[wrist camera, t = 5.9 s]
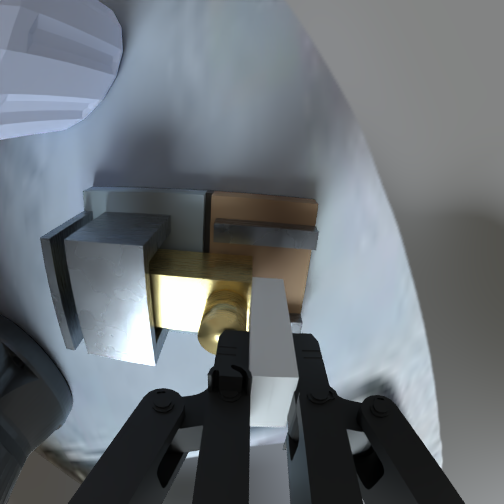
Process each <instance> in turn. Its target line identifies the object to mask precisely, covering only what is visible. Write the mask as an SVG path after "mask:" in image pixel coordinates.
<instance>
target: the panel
mask: <svg viewBox="0 0 504 504" xmlns="http://www.w3.org/2000/svg"><path fill="white" fill-rule="evenodd" d="M83 199H84V211H93V220H94V219H95V218H97V217H98V216H100V215H101V214H103V213H104V212H124V213H144V214H163V215H171V233H170V234H169V236H168V237H167V238H166V239H165V241H164V242H163V243H162V245H161V246H160V247H159V249H167V250H179V251H192V252H205V253H218V254H231V255H244V256H253V262H252V277H259V278H273V279H283V281H284V287H285V293H286V299H287V305H288V311H289V313H298V314H300V313H301V308H302V303H303V297H304V292H305V286H306V280H307V274H308V268H309V262H310V256H311V250H308V249H295V248H283V247H270V246H257V245H244V244H231V243H218V242H213V235H214V222H215V220H216V218H225V219H239V220H252V221H264V222H276V223H288V224H299V225H310V226H315V224H316V217H317V210H318V203H317V202H316V201H315V200H314V199H306V198H296V197H286V196H275V195H263V194H251V193H237V192H223V191H207V190H188V189H166V188H135V187H91V188H89V189H87V190H84V191H83ZM169 331H171V332H179V333H188V334H197V335H198V332H197V331H187V330H178V329H169Z"/></svg>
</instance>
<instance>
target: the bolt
mask: <svg viewBox="0 0 504 504" xmlns="http://www.w3.org/2000/svg"><path fill="white" fill-rule="evenodd" d="M252 262H253V256H244V255H231V254H218V253H205V252H192V251H179V250H167V249H158V250H157V252H156V253H155V254H154V256H153V257H152V258H151V260H150V261H149V277H150V290H151V301H152V312H153V321H154V327H162V328H170V329H178V330H187V331H197V332H198V340H199V343H200V344H201V346H202V347H203V348H204V349H205V350H207V351H208V352H210V353H212V354H215V355H216V351H217V345H218V339H219V336H220V335H221V334H222V333H223V331H224V330H237V331H248V322H249V311H250V300H251V289H252Z"/></svg>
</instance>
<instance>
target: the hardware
mask: <svg viewBox="0 0 504 504" xmlns="http://www.w3.org/2000/svg"><path fill="white" fill-rule="evenodd" d="M170 233H171V215H163V214H144V213H124V212H104V213H103V214H101V215H100V216H98V217H97V218H95V219H94V220H93V211H83V212H82V213H80V214H78V215H76V216H75V217H73V218H71V219H70V220H68V221H66V222H65V223H63V224H61V225H60V226H58V227H57V228H55V229H53V230H52V231H50V232H49V233H47V234H45V235H44V236H42V237H41V238H40V240H41V246H42V252H43V258H44V263H45V268H46V273H47V278H48V283H49V287H50V291H51V296H52V300H53V304H54V308H55V311H56V315H57V319H58V322H59V326H60V329H61V333H62V336H63V339H64V342H65V345H66V348H67V349H71V350H76V348H77V347H78V345H79V344H80V342H81V341H82V339H83V338H84V341H85V344H86V348H87V351H88V354H93V355H97V356H102V357H107V358H112V359H117V360H122V361H128V362H134V363H139V364H145V365H152V366H156V363H157V360H158V358H159V355H160V352H161V350H162V347H163V344H164V342H165V339H166V336H167V334H168V331H169V329H170V328H162V327H154V321H153V312H152V301H151V290H150V277H149V261H150V260H151V258H152V257H153V256H154V254H155V253H156V252H157V250H158V249H159V247H160V246H161V245H162V243H163V242H164V241H165V239H166V238H167V237H168V236H169V234H170ZM318 233H319V232H318V230H317V228H316V226H310V225H299V224H288V223H276V222H264V221H252V220H239V219H225V218H216V220H215V222H214V235H213V242H218V243H231V244H244V245H257V246H270V247H283V248H295V249H308V250H316V246H317V240H318ZM289 318H290V324H291V330H292V333H301V328H302V318H301V314H298V313H289Z"/></svg>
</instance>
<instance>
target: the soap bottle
mask: <svg viewBox="0 0 504 504" xmlns="http://www.w3.org/2000/svg"><path fill="white" fill-rule="evenodd" d="M122 53H123V45H122V28H121V26H120V24H119V22H118V20H117V18H116V16H115V14H114V12H113V10H111V9H110V8H108V7H107V6H106V5H104V4H103V3H101V2H100V1H98V0H0V140H2V139H8V138H14V137H20V136H27V135H34V134H41V133H49V132H56V131H63V130H66V129H68V128H70V127H71V126H73V125H75V124H77V123H78V122H80V121H82V120H84V119H85V118H86V117H87V116H88V115H89V114H90V113H91V112H92V111H93V110H94V109H95V107H96V106H97V105H98V104H99V103H100V102H101V101H102V100H103V99H104V97H105V96H106V94H107V92H108V90H109V88H110V87H111V85H112V83H113V81H114V80H115V78H116V76H117V72H118V68H119V64H120V61H121V57H122Z"/></svg>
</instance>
